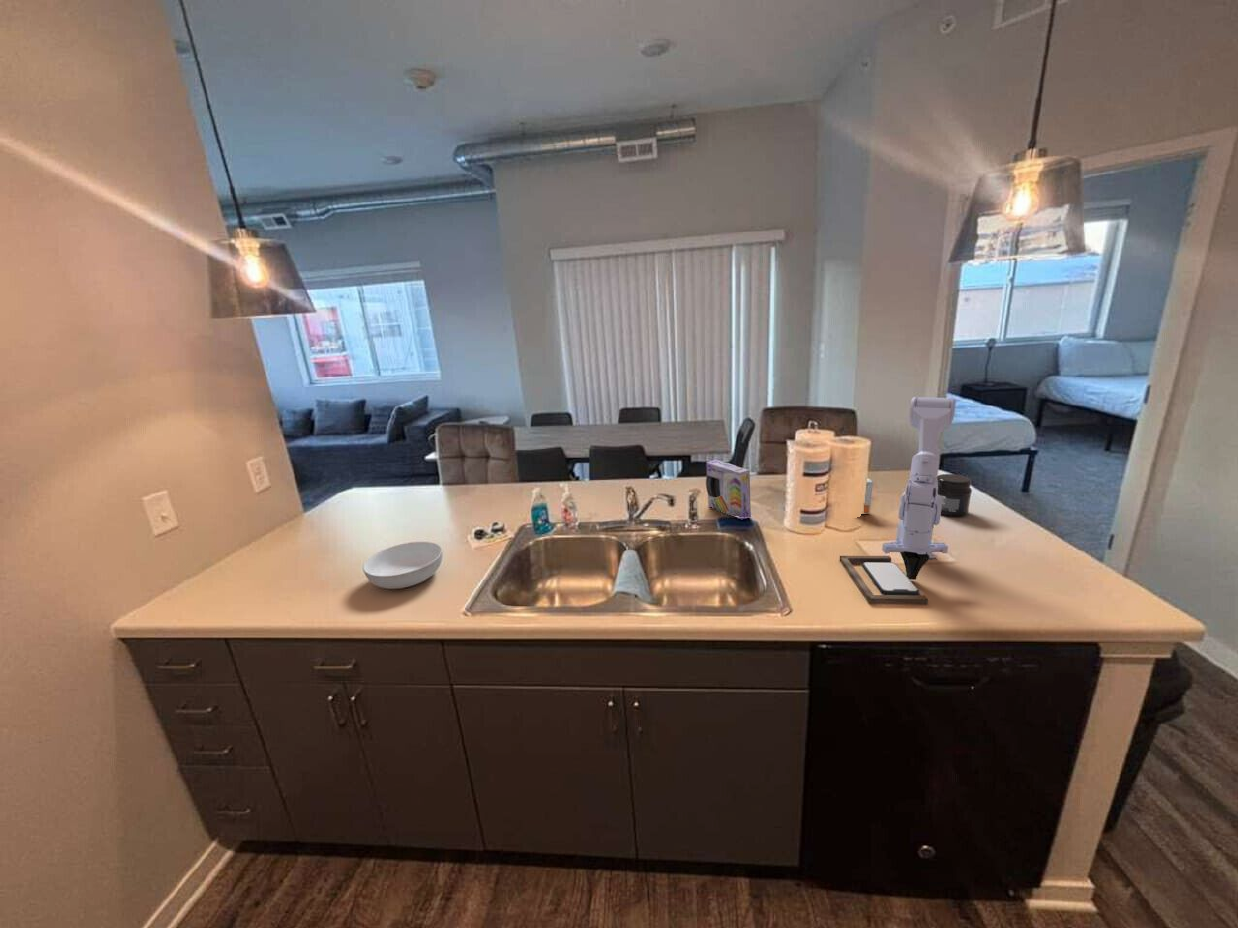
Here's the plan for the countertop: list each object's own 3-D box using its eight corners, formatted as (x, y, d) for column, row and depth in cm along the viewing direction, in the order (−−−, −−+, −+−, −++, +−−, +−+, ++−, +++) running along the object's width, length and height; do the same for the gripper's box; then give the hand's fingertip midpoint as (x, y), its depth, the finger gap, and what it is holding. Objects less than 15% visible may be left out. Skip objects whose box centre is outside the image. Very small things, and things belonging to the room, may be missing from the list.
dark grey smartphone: (860, 566, 136) (882, 597, 121) (860, 561, 136) (882, 591, 120) (894, 567, 135) (921, 597, 119) (895, 561, 134) (921, 591, 119)
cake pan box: (705, 506, 184) (704, 460, 179) (715, 503, 186) (715, 457, 181) (740, 522, 168) (741, 472, 163) (751, 519, 170) (752, 469, 165)
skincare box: (851, 515, 168) (853, 481, 165) (847, 510, 172) (849, 477, 169) (870, 515, 167) (873, 481, 164) (866, 510, 171) (868, 477, 168)
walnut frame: (839, 560, 138) (839, 555, 138) (888, 560, 137) (889, 555, 136) (869, 603, 117) (869, 598, 117) (927, 604, 116) (928, 598, 116)
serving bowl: (371, 571, 148) (366, 550, 146) (444, 556, 155) (441, 536, 153) (363, 605, 129) (358, 582, 127) (447, 587, 136) (443, 564, 134)
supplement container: (967, 509, 168) (972, 475, 165) (969, 520, 159) (974, 484, 156) (930, 504, 173) (934, 472, 170) (930, 515, 165) (935, 481, 161)
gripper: (892, 535, 119) (887, 585, 123) (957, 534, 118) (949, 585, 121) (881, 523, 126) (876, 571, 130) (941, 523, 124) (935, 571, 128)
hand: (910, 577), depth 126 cm, fingers closed
